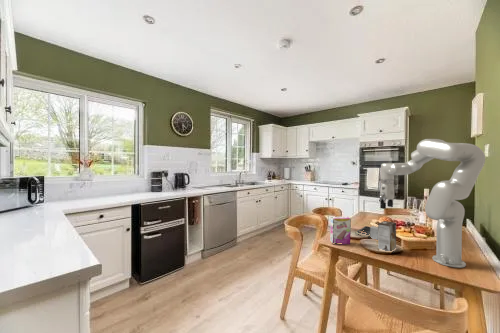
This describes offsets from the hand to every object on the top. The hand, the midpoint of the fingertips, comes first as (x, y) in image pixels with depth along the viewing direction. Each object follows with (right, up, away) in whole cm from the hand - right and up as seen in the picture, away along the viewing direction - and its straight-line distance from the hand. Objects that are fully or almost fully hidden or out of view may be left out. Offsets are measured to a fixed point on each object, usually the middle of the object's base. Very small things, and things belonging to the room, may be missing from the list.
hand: (386, 207), depth 148 cm
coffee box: (-12, -21, -20) cm, 32 cm away
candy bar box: (-34, -21, -8) cm, 41 cm away
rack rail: (-7, -20, +13) cm, 25 cm away
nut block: (-7, -21, +1) cm, 22 cm away
